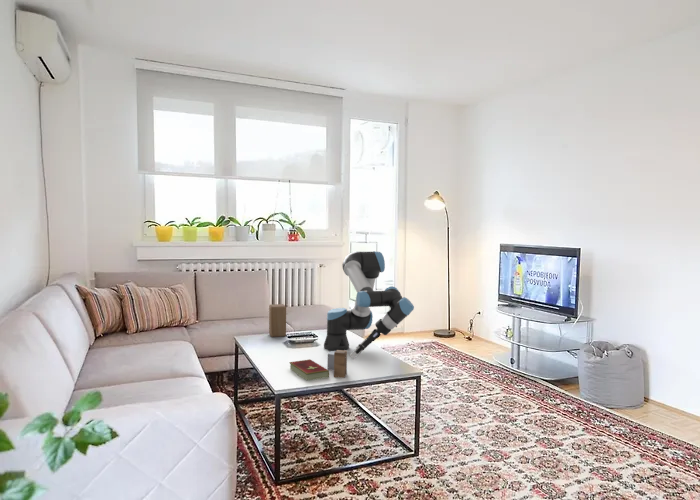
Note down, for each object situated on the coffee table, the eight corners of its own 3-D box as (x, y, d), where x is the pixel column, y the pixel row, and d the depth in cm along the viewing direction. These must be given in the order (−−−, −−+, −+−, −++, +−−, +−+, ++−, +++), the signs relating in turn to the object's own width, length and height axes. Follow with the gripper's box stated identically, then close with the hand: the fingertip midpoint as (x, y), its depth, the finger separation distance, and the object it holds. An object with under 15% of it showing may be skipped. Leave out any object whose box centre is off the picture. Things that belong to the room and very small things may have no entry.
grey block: (330, 366, 250) (330, 351, 250) (341, 367, 249) (342, 351, 248) (327, 369, 244) (327, 354, 244) (338, 370, 243) (338, 355, 242)
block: (268, 334, 320) (269, 304, 319) (283, 333, 323) (283, 303, 322) (270, 337, 310) (271, 306, 309) (286, 336, 313) (286, 306, 312)
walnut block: (336, 373, 237) (337, 349, 237) (346, 374, 236) (346, 350, 235) (334, 376, 232) (334, 352, 232) (343, 377, 231) (344, 353, 231)
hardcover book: (310, 366, 250) (310, 358, 250) (329, 378, 232) (329, 369, 232) (289, 369, 244) (289, 361, 244) (306, 381, 226) (306, 373, 226)
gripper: (387, 335, 214) (354, 366, 218) (395, 324, 238) (365, 352, 243) (375, 323, 215) (343, 353, 219) (385, 313, 239) (355, 341, 244)
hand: (354, 353), depth 231 cm, fingers open, 13 cm apart
